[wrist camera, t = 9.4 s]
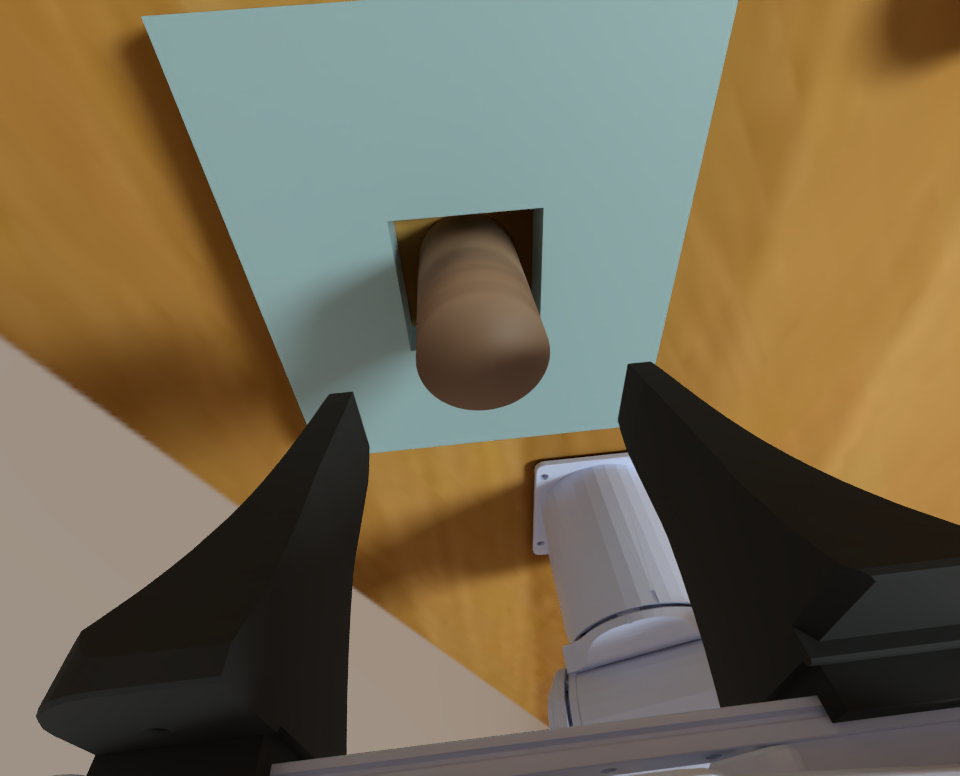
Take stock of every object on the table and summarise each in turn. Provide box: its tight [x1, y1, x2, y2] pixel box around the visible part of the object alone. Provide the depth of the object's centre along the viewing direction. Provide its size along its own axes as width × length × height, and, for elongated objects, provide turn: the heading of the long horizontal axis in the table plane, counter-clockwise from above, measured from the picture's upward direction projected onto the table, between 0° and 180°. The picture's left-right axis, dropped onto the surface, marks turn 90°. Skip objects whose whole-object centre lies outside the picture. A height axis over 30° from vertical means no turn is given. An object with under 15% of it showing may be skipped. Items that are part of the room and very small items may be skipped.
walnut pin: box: [416, 213, 550, 411], centre depth 17 cm, size 4×4×7 cm
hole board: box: [141, 0, 738, 453], centre depth 19 cm, size 17×16×2 cm
